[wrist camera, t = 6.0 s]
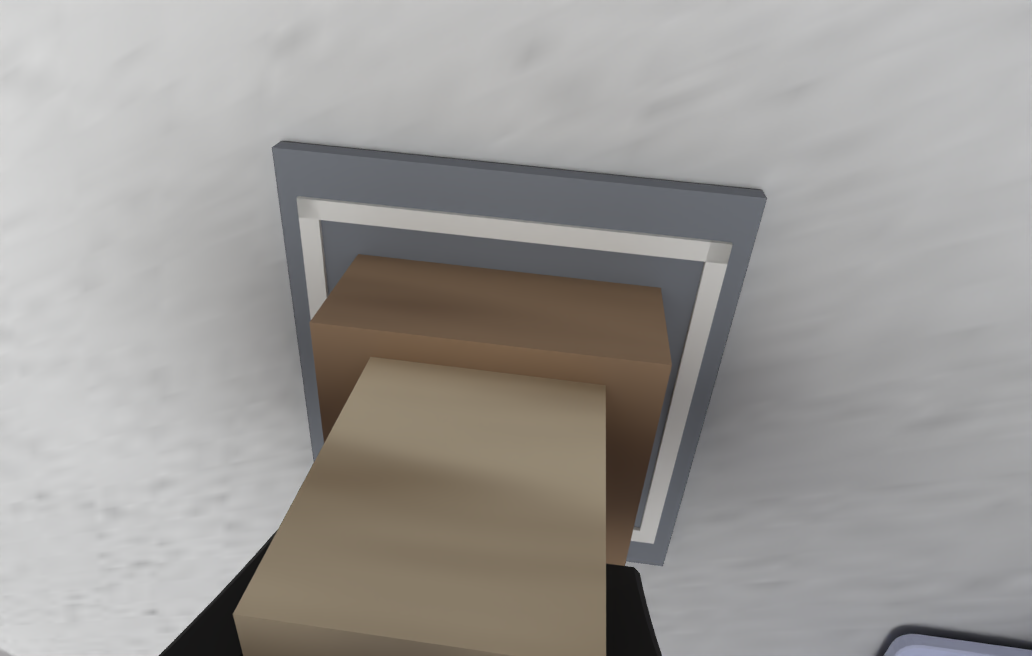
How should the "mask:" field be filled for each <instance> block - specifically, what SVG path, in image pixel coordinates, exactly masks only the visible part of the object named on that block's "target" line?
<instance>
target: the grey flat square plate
mask: <svg viewBox="0 0 1032 656" xmlns="http://www.w3.org/2000/svg"><path fill="white" fill-rule="evenodd" d="M272 152H273V160H274V167H275V175H276V182H277V190H278V197H279V205H280V212H281V220H282V227H283V234H284V242H285V249H286V257H287V264H288V272H289V279H290V287H291V294H292V302H293V309H294V317H295V324H296V332H297V339H298V347H299V354H300V362H301V369H302V377H303V384H304V392H305V399H306V407H307V414H308V422H309V429H310V437H311V444H312V452H313V459H314V462H315V460H316V458H317V456H318V454H319V452H320V450H321V448H322V447H323V445H324V439H323V431H322V423H321V414H320V406H319V398H318V389H317V381H316V373H315V364H314V356H313V348H312V339H311V331H310V321H311V320H312V318H313V317H314V315H315V314H316V312H317V311H318V310H319V308H320V307H321V305H322V304H323V303H324V301H325V300H326V298H327V297H328V296H329V294H330V293H331V291H332V290H333V289H334V287H335V286H336V284H337V283H338V282H339V280H340V279H341V277H342V276H343V275H344V273H345V272H346V270H347V269H348V268H349V266H350V265H351V263H352V262H353V261H354V259H355V258H356V256H357V255H358V254H362V255H371V256H380V257H389V258H398V259H407V260H416V261H425V262H434V263H443V264H452V265H461V266H470V267H479V268H488V269H497V270H505V271H514V272H523V273H532V274H541V275H550V276H559V277H568V278H577V279H586V280H595V281H604V282H613V283H622V284H631V285H640V286H649V287H658V288H661V293H662V300H663V307H664V313H665V320H666V327H667V334H668V341H669V348H670V355H671V362H672V367H671V371H670V376H669V380H668V384H667V388H666V393H665V397H664V401H663V405H662V410H661V414H660V418H659V422H658V427H657V431H656V435H655V439H654V444H653V448H652V452H651V456H650V461H649V465H648V469H647V473H646V478H645V482H644V486H643V490H642V495H641V499H640V503H639V507H638V512H637V516H636V520H635V524H634V529H633V533H632V537H631V541H630V546H629V550H628V554H627V558H626V561H628V562H636V563H643V564H650V565H658V566H663V564H664V561H665V557H666V553H667V550H668V546H669V543H670V539H671V536H672V532H673V529H674V525H675V522H676V518H677V515H678V511H679V507H680V504H681V500H682V497H683V493H684V490H685V486H686V483H687V479H688V476H689V472H690V469H691V465H692V462H693V458H694V454H695V451H696V447H697V444H698V440H699V437H700V433H701V430H702V426H703V423H704V419H705V416H706V412H707V408H708V405H709V401H710V398H711V394H712V391H713V387H714V384H715V380H716V377H717V373H718V370H719V366H720V362H721V359H722V355H723V352H724V348H725V345H726V341H727V338H728V334H729V331H730V327H731V324H732V320H733V317H734V313H735V309H736V306H737V302H738V299H739V295H740V292H741V288H742V285H743V281H744V278H745V274H746V271H747V267H748V263H749V260H750V256H751V253H752V249H753V246H754V242H755V239H756V235H757V232H758V228H759V225H760V221H761V218H762V214H763V210H764V207H765V203H766V200H767V198H766V196H765V194H764V192H763V190H755V189H745V188H736V187H726V186H716V185H706V184H696V183H686V182H677V181H667V180H657V179H647V178H637V177H627V176H618V175H608V174H598V173H588V172H578V171H569V170H559V169H549V168H539V167H529V166H519V165H510V164H500V163H490V162H480V161H470V160H460V159H451V158H441V157H431V156H421V155H411V154H401V153H392V152H382V151H372V150H362V149H352V148H342V147H333V146H323V145H313V144H303V143H293V142H283V141H280V142H279V143H278V144H276V145H275V146H273V147H272Z"/></svg>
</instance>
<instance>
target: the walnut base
mask: <svg viewBox="0 0 1032 656" xmlns="http://www.w3.org/2000/svg"><path fill="white" fill-rule="evenodd" d="M310 331H311V339H312V348H313V356H314V364H315V373H316V381H317V389H318V398H319V406H320V414H321V423H322V431H323V439H324V443H325V441H326V439H327V437H328V435H329V434H330V432H331V430H332V428H333V426H334V424H335V422H336V420H337V419H338V417H339V415H340V413H341V411H342V409H343V407H344V405H345V404H346V402H347V400H348V398H349V396H350V394H351V392H352V391H353V389H354V387H355V385H356V383H357V381H358V379H359V377H360V376H361V374H362V372H363V370H364V368H365V366H366V364H367V363H368V361H369V359H370V357H376V358H384V359H393V360H401V361H409V362H417V363H426V364H434V365H442V366H450V367H459V368H467V369H475V370H483V371H492V372H500V373H508V374H516V375H525V376H533V377H541V378H549V379H558V380H566V381H574V382H582V383H591V384H599V385H606V563H607V564H614V565H621V566H625V563H626V558H627V554H628V550H629V546H630V541H631V537H632V533H633V529H634V524H635V520H636V516H637V512H638V507H639V503H640V499H641V495H642V490H643V486H644V482H645V478H646V473H647V469H648V465H649V461H650V456H651V452H652V448H653V444H654V439H655V435H656V431H657V427H658V422H659V418H660V414H661V410H662V405H663V401H664V397H665V393H666V388H667V384H668V380H669V376H670V371H671V367H672V362H671V355H670V348H669V341H668V334H667V327H666V320H665V313H664V307H663V300H662V293H661V288H658V287H649V286H640V285H631V284H622V283H613V282H604V281H595V280H586V279H577V278H568V277H559V276H550V275H541V274H532V273H523V272H514V271H505V270H497V269H488V268H479V267H470V266H461V265H452V264H443V263H434V262H425V261H416V260H407V259H398V258H389V257H380V256H371V255H362V254H358V255H357V256H356V258H355V259H354V261H353V262H352V263H351V265H350V266H349V268H348V269H347V270H346V272H345V273H344V275H343V276H342V277H341V279H340V280H339V282H338V283H337V284H336V286H335V287H334V289H333V290H332V291H331V293H330V294H329V296H328V297H327V298H326V300H325V301H324V303H323V304H322V305H321V307H320V308H319V310H318V311H317V312H316V314H315V315H314V317H313V318H312V320H311V321H310Z"/></svg>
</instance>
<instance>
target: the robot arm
mask: <svg viewBox="0 0 1032 656" xmlns="http://www.w3.org/2000/svg"><path fill="white" fill-rule="evenodd" d="M277 531H278V530H277ZM277 531H276V532H275V533H274V534H273V535H272V536H271V538H270V539H269V540H268V541H267V542H266V543H265V544H264V546H263V547H262V548H261V549H260V550H259V551H258V552H257V553H256V555H255V556H254V557H253V558H252V559H251V560H250V561H249V562H248V563H247V564H246V566H245V567H244V568H243V569H242V570H241V571H240V572H239V573H238V574H237V575H236V576H235V578H234V579H233V580H232V581H231V582H230V583H229V584H228V585H227V586H226V587H225V588H224V589H223V590H222V592H221V593H220V594H219V595H218V596H217V597H216V598H215V599H214V600H213V601H212V602H211V603H210V604H209V605H208V606H207V607H206V608H205V609H204V610H203V611H202V612H201V613H200V614H199V615H198V616H197V617H196V618H195V619H194V621H193V622H192V623H191V624H190V625H189V626H188V627H187V628H186V629H185V630H184V631H183V632H182V633H181V634H180V635H179V636H178V637H177V638H176V639H175V640H174V641H173V642H172V643H171V644H170V645H169V646H168V647H167V648H166V649H165V650H164V651H163V652H162V653H161V654H160V655H159V656H243V653H242V649H241V645H240V641H239V637H238V633H237V629H236V625H235V621H234V617H233V613H234V611H235V609H236V607H237V605H238V604H239V602H240V600H241V598H242V596H243V594H244V592H245V590H246V589H247V587H248V585H249V583H250V581H251V579H252V577H253V575H254V574H255V572H256V570H257V568H258V566H259V564H260V562H261V561H262V559H263V557H264V555H265V553H266V551H267V549H268V547H269V546H270V544H271V542H272V540H273V538H274V536H275V534H276V533H277ZM606 656H662V655H661V651H660V648H659V645H658V642H657V639H656V636H655V632H654V629H653V625H652V622H651V619H650V615H649V611H648V607H647V604H646V599H645V595H644V591H643V587H642V582H641V577H640V573H639V572H638V571H637V570H636V569H635V568H634V567H628V566H621V565H614V564H607V563H606ZM884 656H1032V650H1028V649H1021V648H1014V647H1006V646H999V645H992V644H985V643H978V642H971V641H963V640H956V639H949V638H942V637H935V636H928V635H920V634H906V635H902V636H900V637H898V638H896V639H895V640H894V641H893V642H892V643H891V645H890V647H889V648H888V650H887V651H886V653H885V655H884Z"/></svg>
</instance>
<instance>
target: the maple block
mask: <svg viewBox="0 0 1032 656" xmlns="http://www.w3.org/2000/svg"><path fill="white" fill-rule="evenodd" d="M233 617H234V621H235V625H236V629H237V633H238V637H239V641H240V645H241V649H242V653H243V656H606V385H599V384H591V383H582V382H574V381H566V380H558V379H549V378H541V377H533V376H525V375H516V374H508V373H500V372H492V371H483V370H475V369H467V368H459V367H450V366H442V365H434V364H426V363H417V362H409V361H401V360H393V359H384V358H376V357H370V359H369V361H368V363H367V364H366V366H365V368H364V370H363V372H362V374H361V376H360V377H359V379H358V381H357V383H356V385H355V387H354V389H353V391H352V392H351V394H350V396H349V398H348V400H347V402H346V404H345V405H344V407H343V409H342V411H341V413H340V415H339V417H338V419H337V420H336V422H335V424H334V426H333V428H332V430H331V432H330V434H329V435H328V437H327V439H326V441H325V443H324V445H323V447H322V448H321V450H320V452H319V454H318V456H317V458H316V460H315V462H314V463H313V465H312V467H311V469H310V471H309V473H308V475H307V476H306V478H305V480H304V482H303V484H302V486H301V488H300V490H299V491H298V493H297V495H296V497H295V499H294V501H293V503H292V505H291V506H290V508H289V510H288V512H287V514H286V516H285V518H284V519H283V521H282V523H281V525H280V527H279V529H278V531H277V533H276V534H275V536H274V538H273V540H272V542H271V544H270V546H269V547H268V549H267V551H266V553H265V555H264V557H263V559H262V561H261V562H260V564H259V566H258V568H257V570H256V572H255V574H254V575H253V577H252V579H251V581H250V583H249V585H248V587H247V589H246V590H245V592H244V594H243V596H242V598H241V600H240V602H239V604H238V605H237V607H236V609H235V611H234V613H233Z"/></svg>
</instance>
